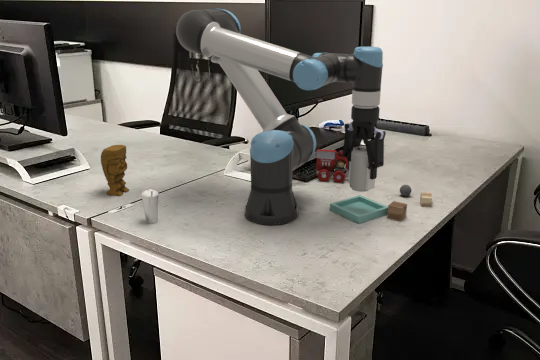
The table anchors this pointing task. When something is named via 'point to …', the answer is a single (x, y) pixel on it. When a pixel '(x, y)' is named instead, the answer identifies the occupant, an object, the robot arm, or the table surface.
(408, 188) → the black rubber ball
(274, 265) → the table surface
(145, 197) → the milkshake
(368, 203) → the tray
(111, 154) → the figurine
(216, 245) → the table surface
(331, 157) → the toy fire truck
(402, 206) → the walnut block
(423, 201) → the beech block
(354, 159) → the beverage can
